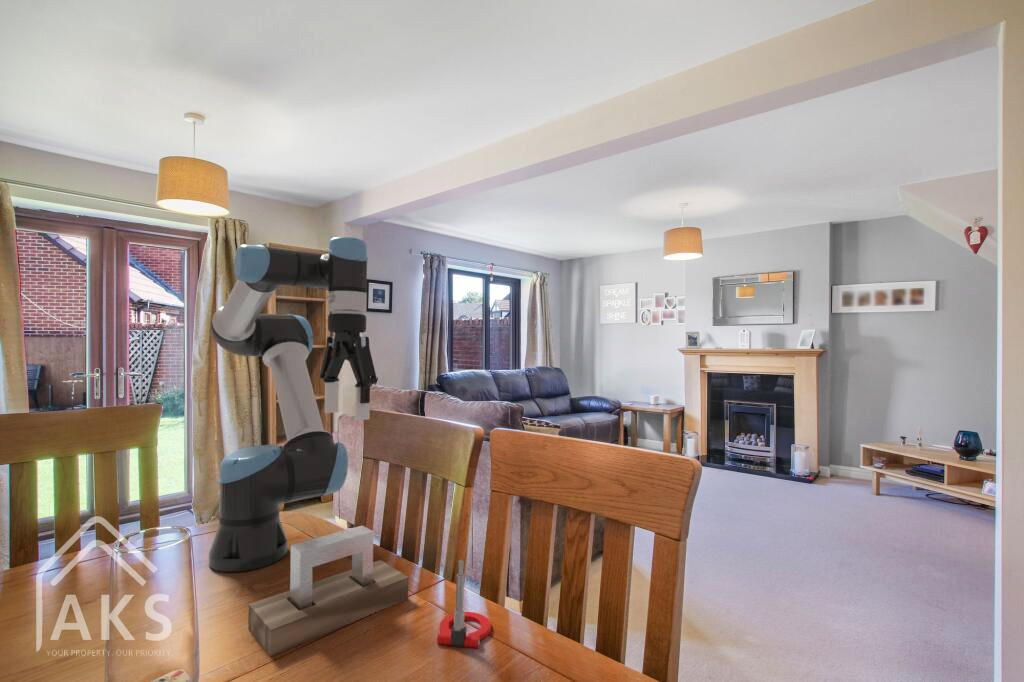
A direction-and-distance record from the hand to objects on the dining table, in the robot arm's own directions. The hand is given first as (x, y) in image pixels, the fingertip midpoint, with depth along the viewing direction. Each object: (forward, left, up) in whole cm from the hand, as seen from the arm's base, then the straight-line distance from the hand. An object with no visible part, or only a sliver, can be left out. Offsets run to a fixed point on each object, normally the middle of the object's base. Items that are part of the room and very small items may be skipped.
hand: (346, 416), depth 102 cm
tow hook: (+34, +4, -32) cm, 47 cm away
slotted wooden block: (+14, -9, -32) cm, 36 cm away
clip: (+14, -9, -32) cm, 36 cm away
